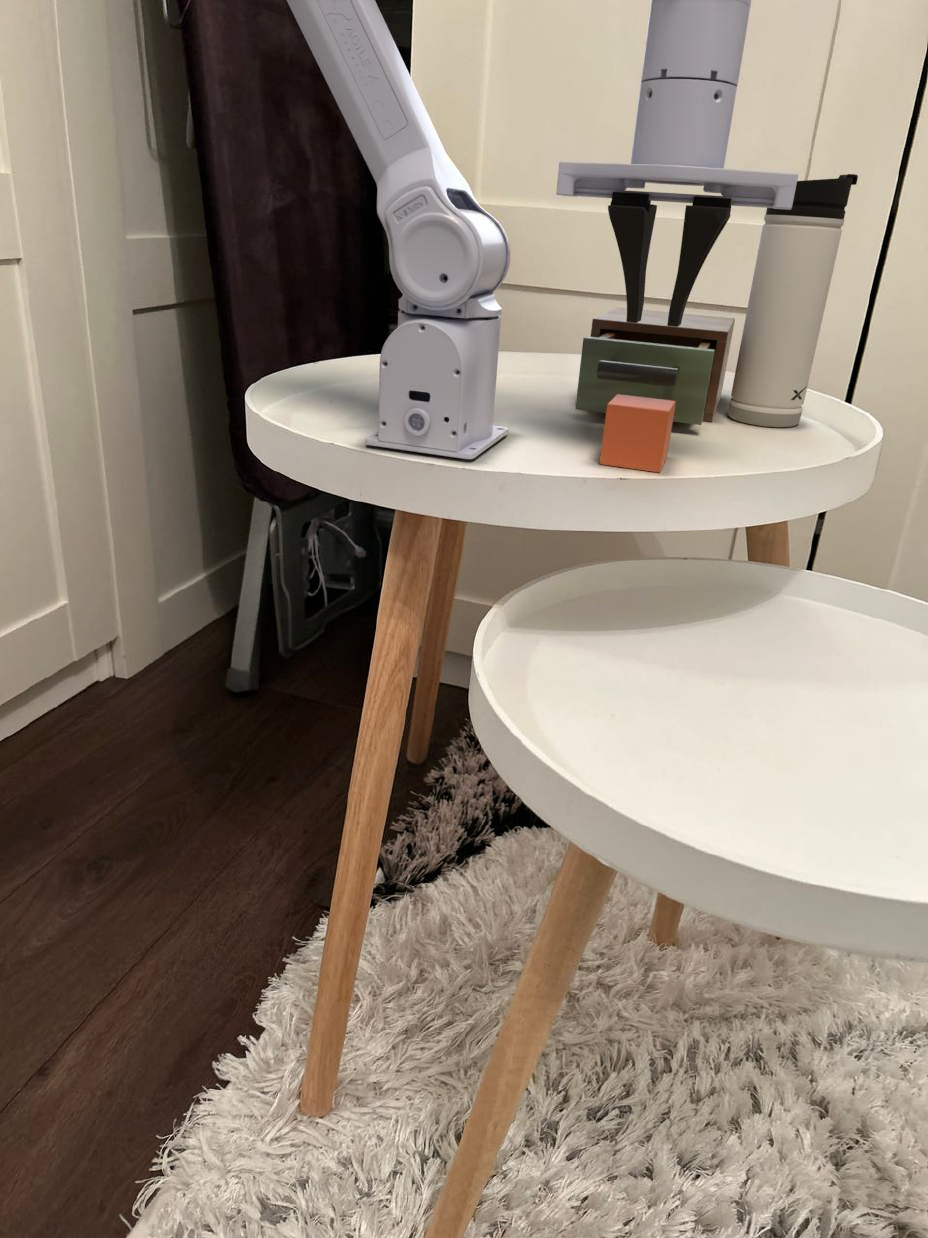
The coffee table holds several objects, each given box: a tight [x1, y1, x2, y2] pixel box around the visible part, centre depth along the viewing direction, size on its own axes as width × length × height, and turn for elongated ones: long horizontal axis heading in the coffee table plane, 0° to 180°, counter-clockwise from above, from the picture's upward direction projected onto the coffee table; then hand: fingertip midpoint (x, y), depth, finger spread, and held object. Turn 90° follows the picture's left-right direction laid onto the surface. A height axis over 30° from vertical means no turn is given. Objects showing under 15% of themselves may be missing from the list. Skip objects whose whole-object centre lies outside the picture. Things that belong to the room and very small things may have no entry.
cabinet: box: [590, 307, 736, 423], centre depth 83 cm, size 14×12×8 cm
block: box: [599, 394, 676, 473], centre depth 62 cm, size 4×4×4 cm
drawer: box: [575, 330, 715, 426], centre depth 75 cm, size 17×10×6 cm, turn 162°
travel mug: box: [727, 173, 859, 428], centre depth 75 cm, size 6×7×20 cm
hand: (653, 323), depth 59 cm, fingers closed
